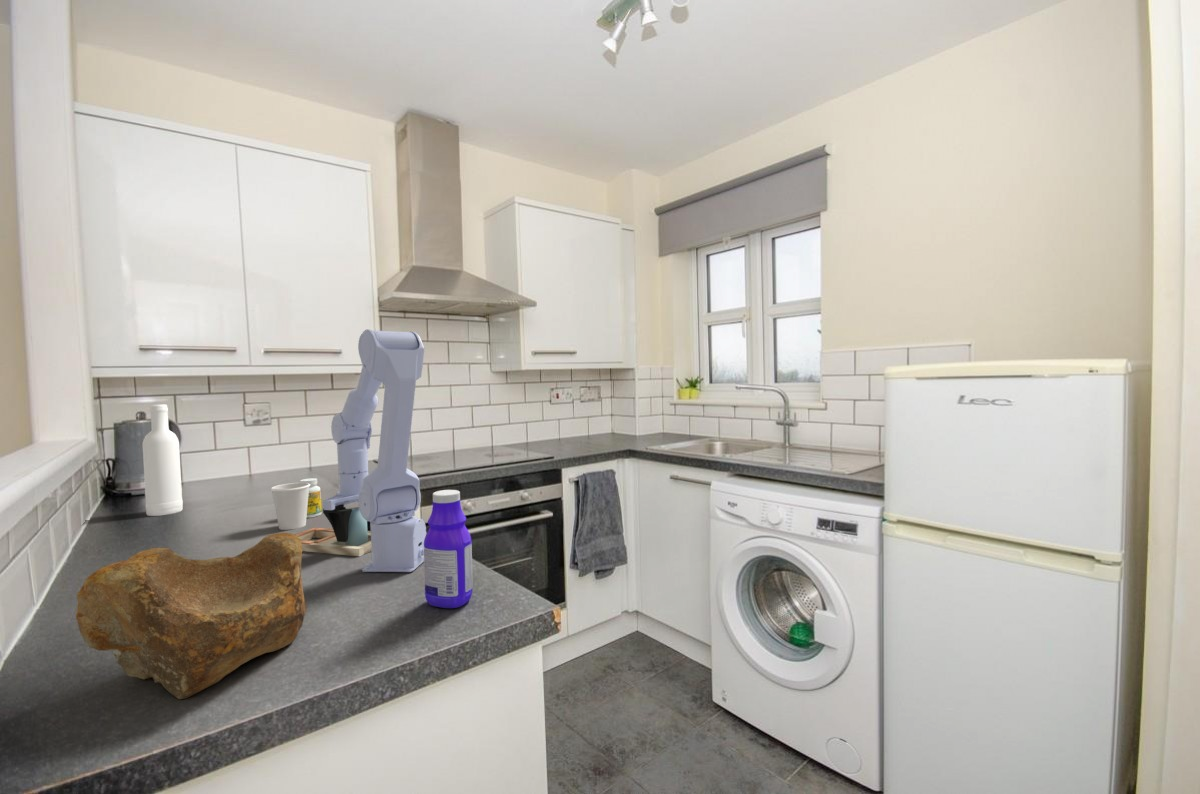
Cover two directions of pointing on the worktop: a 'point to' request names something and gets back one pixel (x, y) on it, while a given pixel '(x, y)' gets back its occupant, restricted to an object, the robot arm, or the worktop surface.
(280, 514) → the dixie cup
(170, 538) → the worktop surface
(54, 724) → the worktop surface
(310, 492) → the supplement bottle
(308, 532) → the wooden slot frame
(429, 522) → the bottle
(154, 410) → the bottle
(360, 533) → the peg
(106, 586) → the rough brown rock
